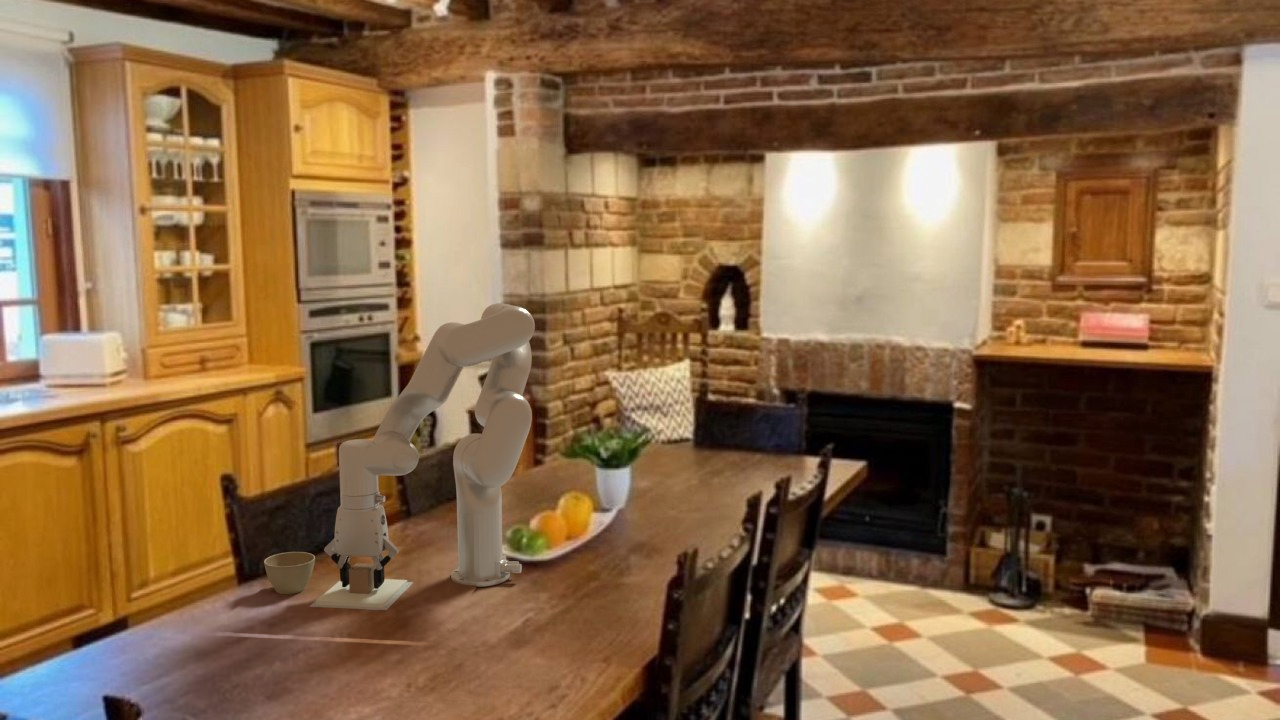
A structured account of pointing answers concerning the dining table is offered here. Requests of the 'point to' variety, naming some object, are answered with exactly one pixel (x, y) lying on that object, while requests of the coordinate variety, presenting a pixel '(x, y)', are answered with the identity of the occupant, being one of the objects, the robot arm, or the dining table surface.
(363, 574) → the lid
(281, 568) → the flower pot
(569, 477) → the dining table surface
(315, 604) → the mat
